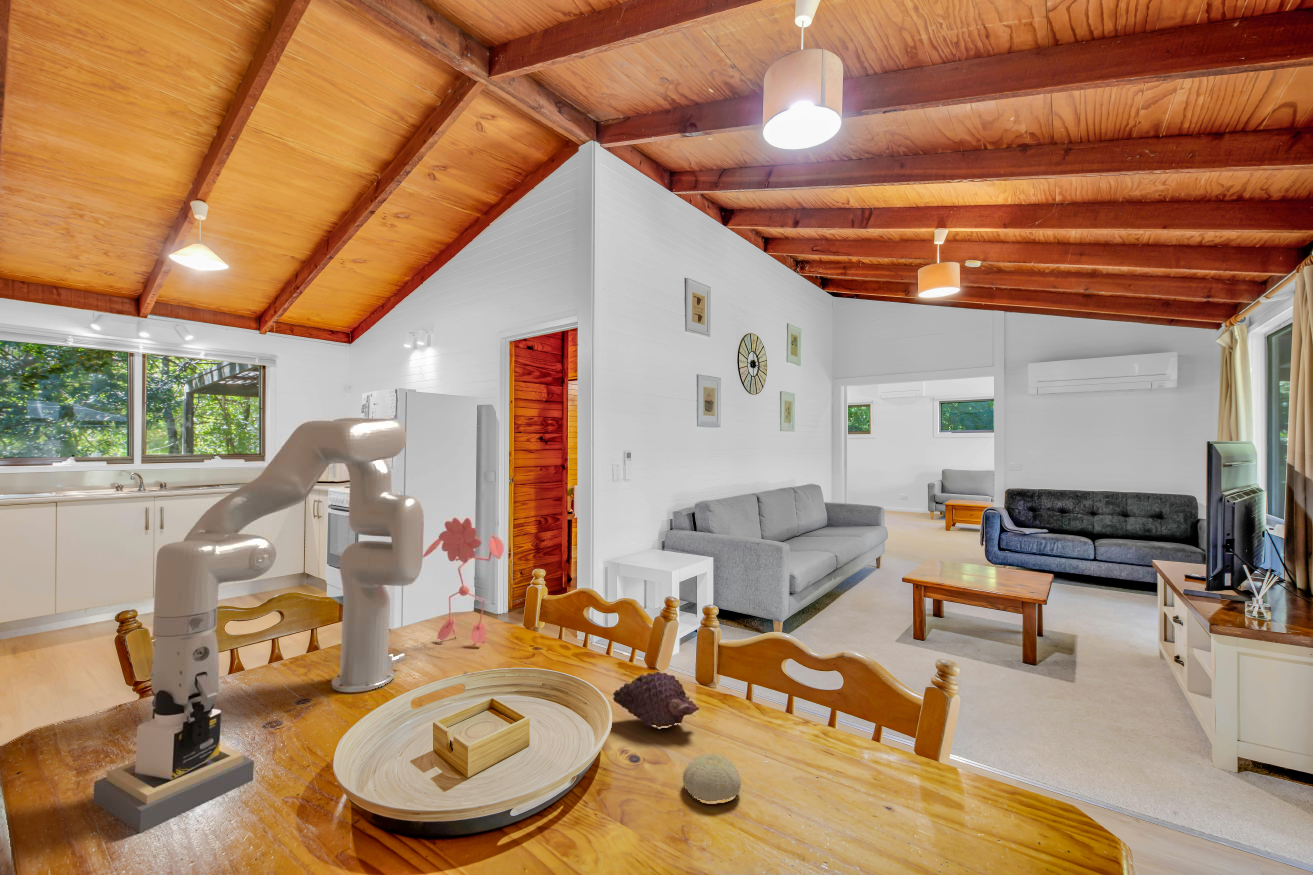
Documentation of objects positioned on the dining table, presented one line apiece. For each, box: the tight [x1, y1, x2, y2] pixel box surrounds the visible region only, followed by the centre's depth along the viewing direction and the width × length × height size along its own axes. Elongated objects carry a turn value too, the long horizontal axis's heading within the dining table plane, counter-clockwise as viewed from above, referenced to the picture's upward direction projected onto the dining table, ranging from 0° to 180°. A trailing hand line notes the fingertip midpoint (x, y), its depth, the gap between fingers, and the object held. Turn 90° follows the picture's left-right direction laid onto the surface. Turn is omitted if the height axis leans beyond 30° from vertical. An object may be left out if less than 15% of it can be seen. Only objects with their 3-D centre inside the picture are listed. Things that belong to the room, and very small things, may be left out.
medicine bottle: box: [135, 690, 222, 780], centre depth 85 cm, size 7×7×12 cm
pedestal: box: [92, 743, 255, 834], centre depth 84 cm, size 14×14×4 cm
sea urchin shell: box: [682, 753, 742, 801], centre depth 88 cm, size 9×8×8 cm
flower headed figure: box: [423, 517, 505, 645], centre depth 148 cm, size 15×26×35 cm, turn 73°
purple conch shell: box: [612, 671, 700, 727], centre depth 109 cm, size 18×10×10 cm, turn 74°
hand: (180, 737), depth 85 cm, fingers closed on medicine bottle, 8 cm apart
